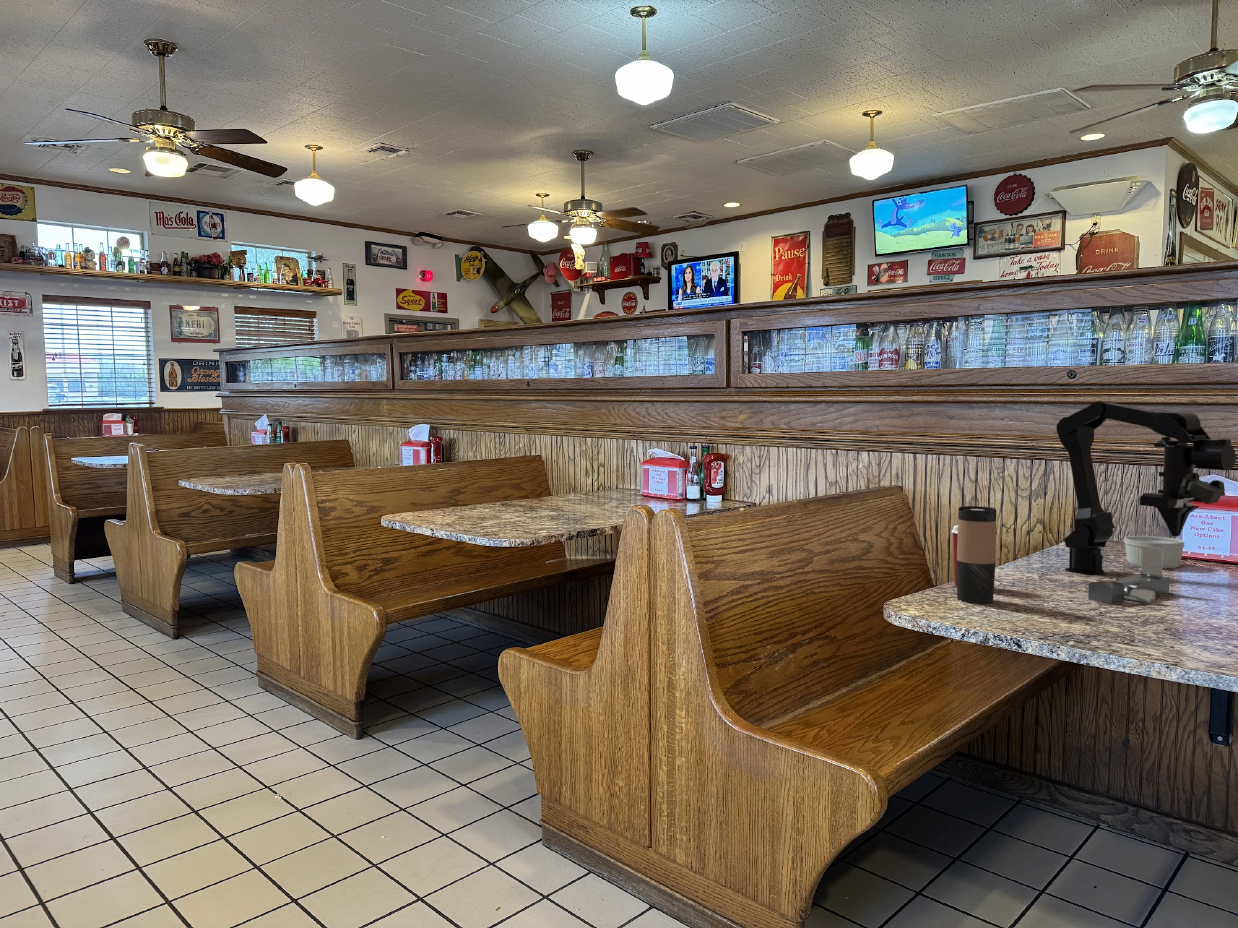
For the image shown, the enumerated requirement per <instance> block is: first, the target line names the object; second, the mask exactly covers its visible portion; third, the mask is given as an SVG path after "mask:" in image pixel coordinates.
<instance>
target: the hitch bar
mask: <svg viewBox="0 0 1238 928" xmlns="http://www.w3.org/2000/svg"><path fill="white" fill-rule="evenodd" d="M1170 580H1171V578H1170V577H1168V576H1163V578H1157V577H1151V576H1145V575H1141V574H1137V575H1131V576H1130V575H1129V576H1125V577H1118V578H1115V581H1113V583H1110V582H1104V581H1105V580H1100V581H1093V582H1088V595H1087V600H1089V601H1093V602H1099V603H1103V604H1107V605H1114V604H1115V605H1116V604H1120V603H1125V599H1124V593H1125V586H1127V587H1133V588H1139V589H1144V590H1150V591H1154V592H1155V597H1159V596H1163V595H1164V596H1165V595H1168V594H1170Z"/></svg>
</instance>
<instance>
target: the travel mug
mask: <svg viewBox="0 0 1238 928" xmlns="http://www.w3.org/2000/svg"><path fill="white" fill-rule="evenodd" d="M957 509H958V514H957V515H958V518H957V519H958V520H957V525H958V540H957V587H956V599H957V600H958V601H959V600H961V601H960V602H963V603H966V602H967V604H972V603H976V604H975V605H989V604H992V603H993V602H994V594H995V592H994V591H995V581H996V580H995V578H996V561H997V560H996V559H997V555H996V554H997V550H996V548H997V508H995V507H990V506H989V507H988V506H980V505H979V506H977V505H966V506H959V507H958V508H957Z"/></svg>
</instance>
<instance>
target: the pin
mask: <svg viewBox="0 0 1238 928" xmlns="http://www.w3.org/2000/svg"><path fill="white" fill-rule="evenodd" d="M1103 581H1104V582H1110V583H1113V581H1116V579H1114V580H1113V579H1107V580H1103ZM1124 600H1126V601H1132V602H1136V603H1138V602H1139V603H1143V604H1147V605H1153V604H1154V602H1155V601H1156V596H1155V592H1154V591H1150V590H1144V589H1139V588H1133V587H1127V586H1125V593H1124Z"/></svg>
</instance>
